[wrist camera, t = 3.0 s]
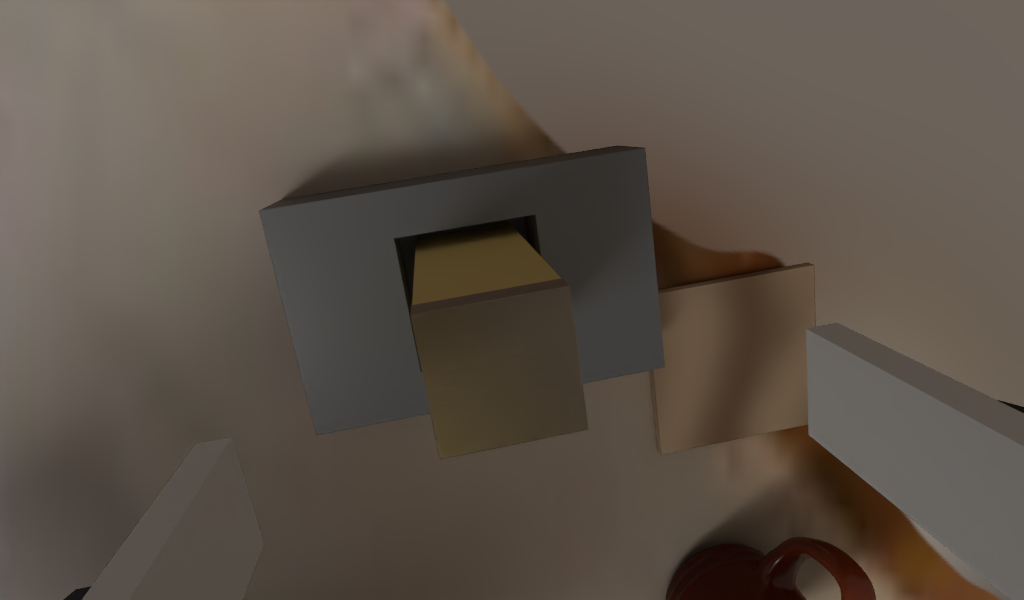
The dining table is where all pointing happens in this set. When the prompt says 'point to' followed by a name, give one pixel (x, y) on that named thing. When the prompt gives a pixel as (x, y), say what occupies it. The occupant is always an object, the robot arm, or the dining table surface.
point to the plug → (494, 342)
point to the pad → (733, 357)
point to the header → (450, 209)
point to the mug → (764, 572)
